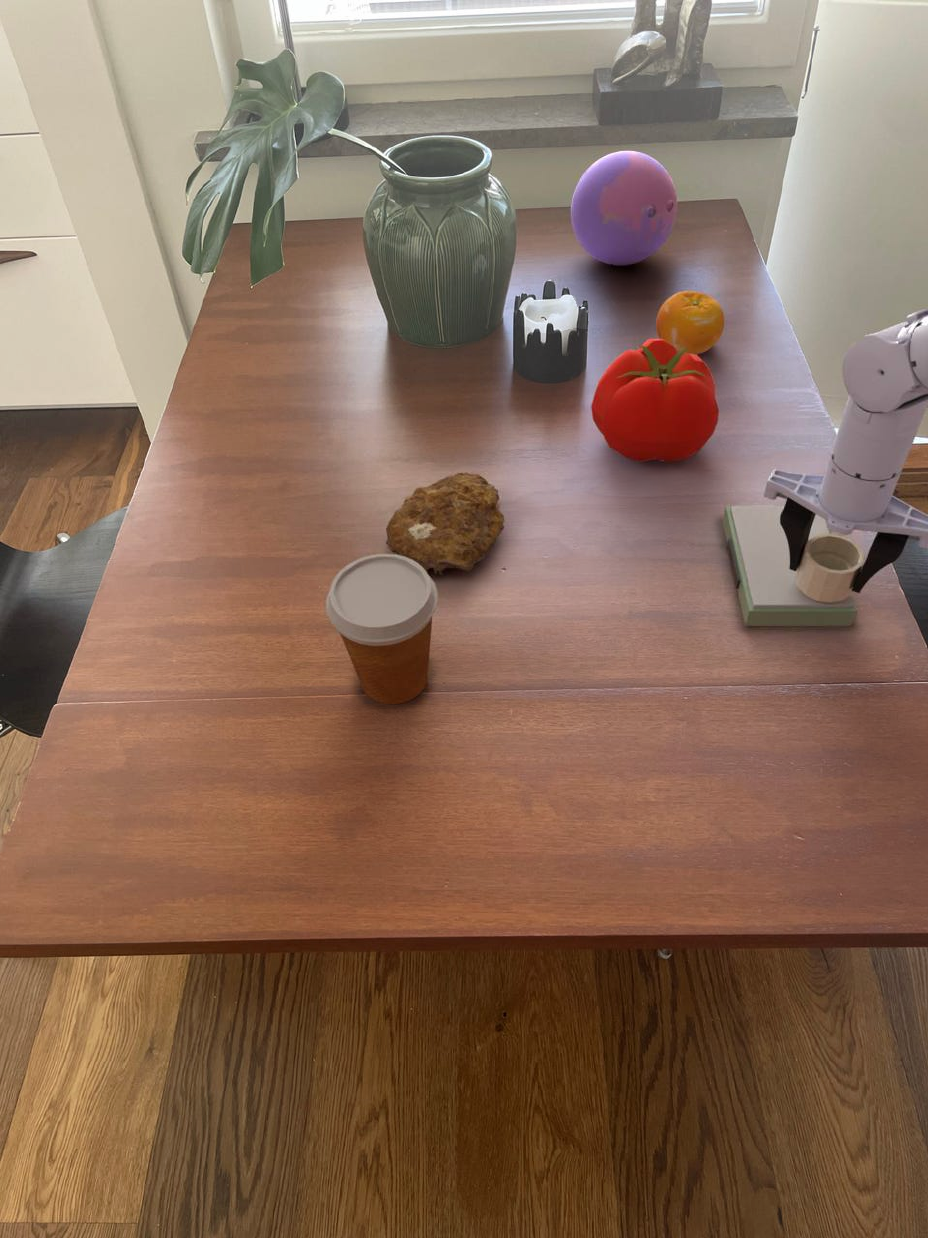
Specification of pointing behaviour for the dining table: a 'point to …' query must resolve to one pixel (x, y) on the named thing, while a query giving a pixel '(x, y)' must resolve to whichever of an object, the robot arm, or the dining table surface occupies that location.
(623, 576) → the dining table surface
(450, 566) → the decorative rock
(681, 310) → the fruit
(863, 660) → the dining table surface
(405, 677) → the disposable coffee cup
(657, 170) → the decorative ball
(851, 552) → the small beige cup
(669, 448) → the tomato
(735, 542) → the scale
